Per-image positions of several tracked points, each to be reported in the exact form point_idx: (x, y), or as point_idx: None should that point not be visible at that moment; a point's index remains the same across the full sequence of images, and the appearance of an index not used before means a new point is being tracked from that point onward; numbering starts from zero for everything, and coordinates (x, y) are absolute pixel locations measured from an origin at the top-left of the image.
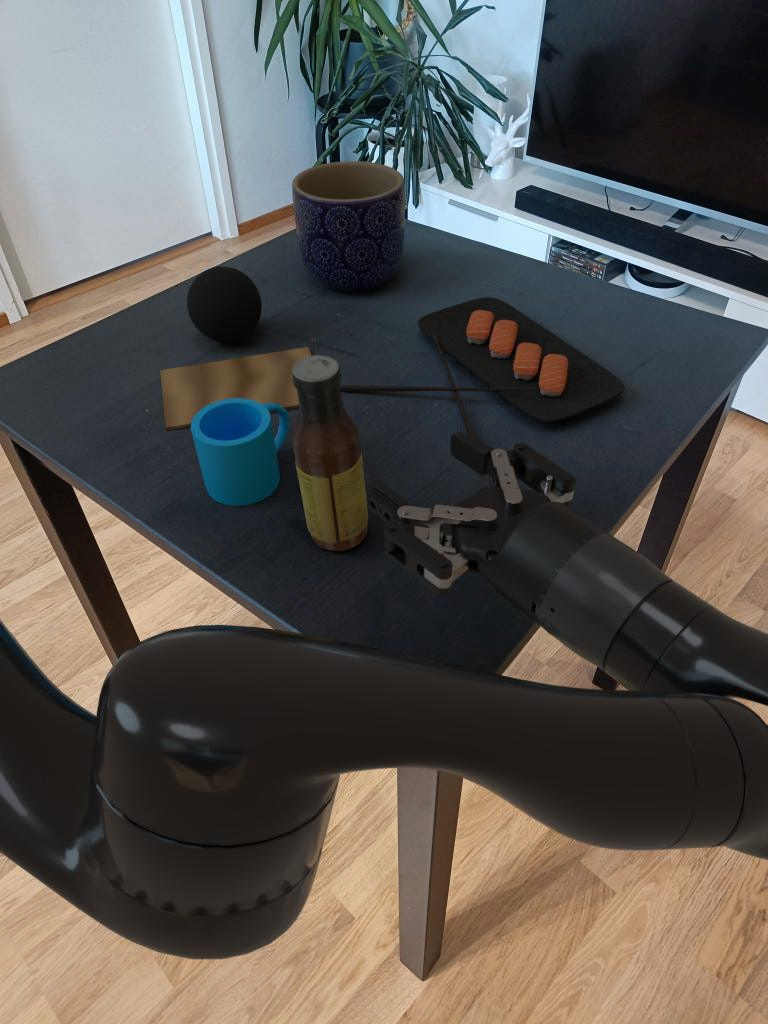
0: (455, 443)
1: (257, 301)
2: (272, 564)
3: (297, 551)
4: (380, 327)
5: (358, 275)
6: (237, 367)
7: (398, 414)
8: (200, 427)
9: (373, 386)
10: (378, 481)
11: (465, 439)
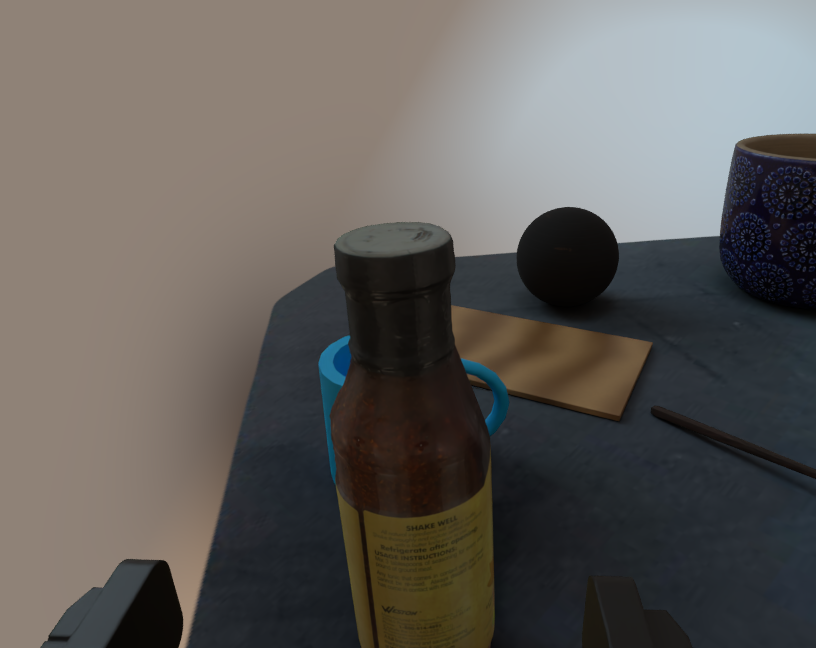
0: (592, 619)
1: (605, 260)
2: (274, 624)
3: (330, 630)
4: (796, 358)
5: (794, 278)
6: (534, 331)
7: (732, 495)
8: (348, 350)
9: (712, 428)
10: (138, 574)
11: (621, 631)
